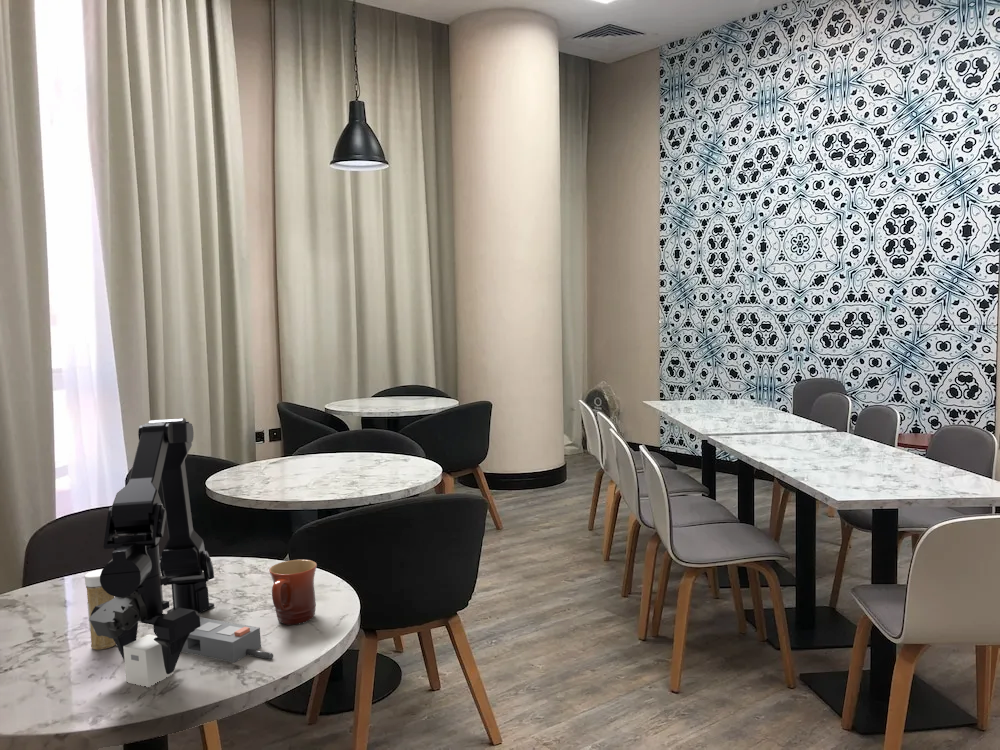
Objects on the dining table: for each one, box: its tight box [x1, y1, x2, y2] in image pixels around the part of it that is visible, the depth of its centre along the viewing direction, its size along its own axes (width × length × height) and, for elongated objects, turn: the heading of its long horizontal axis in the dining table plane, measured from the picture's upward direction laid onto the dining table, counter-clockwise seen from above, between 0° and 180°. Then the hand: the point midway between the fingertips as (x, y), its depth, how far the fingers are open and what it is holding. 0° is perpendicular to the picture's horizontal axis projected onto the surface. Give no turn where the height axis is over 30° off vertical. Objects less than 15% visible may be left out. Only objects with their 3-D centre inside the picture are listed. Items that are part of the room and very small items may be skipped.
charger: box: [123, 633, 175, 688], centre depth 130 cm, size 5×8×6 cm, turn 155°
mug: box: [269, 559, 318, 626], centre depth 149 cm, size 12×9×10 cm
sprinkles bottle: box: [84, 568, 117, 651], centre depth 143 cm, size 5×5×13 cm
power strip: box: [181, 616, 274, 663], centre depth 139 cm, size 24×6×4 cm, turn 65°
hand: (149, 668), depth 129 cm, fingers open, 9 cm apart
